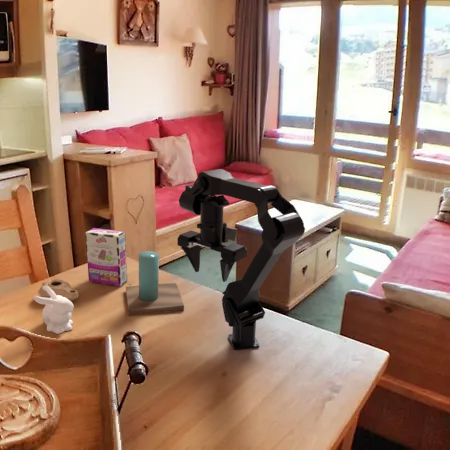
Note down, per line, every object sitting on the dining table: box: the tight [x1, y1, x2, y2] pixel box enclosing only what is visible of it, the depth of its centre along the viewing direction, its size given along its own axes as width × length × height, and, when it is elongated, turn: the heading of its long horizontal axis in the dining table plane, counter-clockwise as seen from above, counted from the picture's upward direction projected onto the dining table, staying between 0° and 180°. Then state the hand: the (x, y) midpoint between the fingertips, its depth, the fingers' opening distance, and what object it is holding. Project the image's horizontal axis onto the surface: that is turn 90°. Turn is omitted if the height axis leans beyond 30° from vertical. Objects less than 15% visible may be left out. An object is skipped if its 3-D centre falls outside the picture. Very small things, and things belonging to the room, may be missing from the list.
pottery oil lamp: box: [37, 278, 79, 301], centre depth 147 cm, size 9×12×7 cm
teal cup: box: [138, 250, 160, 301], centre depth 145 cm, size 6×6×13 cm
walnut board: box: [125, 282, 185, 316], centre depth 148 cm, size 15×15×2 cm
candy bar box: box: [84, 227, 128, 287], centre depth 157 cm, size 11×5×16 cm, turn 73°
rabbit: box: [33, 285, 74, 335], centre depth 132 cm, size 12×9×12 cm
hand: (210, 276), depth 134 cm, fingers open, 9 cm apart
